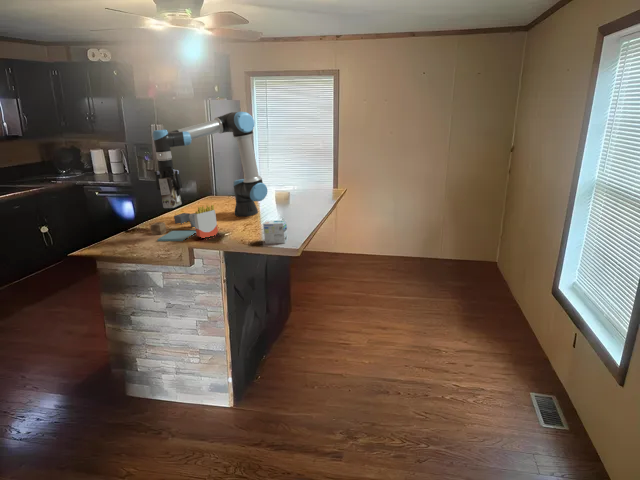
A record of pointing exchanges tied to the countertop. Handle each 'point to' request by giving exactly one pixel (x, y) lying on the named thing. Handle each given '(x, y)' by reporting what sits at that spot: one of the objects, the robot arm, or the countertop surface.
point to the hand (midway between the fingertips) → (172, 201)
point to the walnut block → (158, 228)
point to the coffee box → (168, 193)
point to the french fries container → (205, 222)
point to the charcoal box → (182, 218)
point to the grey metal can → (192, 219)
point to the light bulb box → (275, 232)
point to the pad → (176, 236)
